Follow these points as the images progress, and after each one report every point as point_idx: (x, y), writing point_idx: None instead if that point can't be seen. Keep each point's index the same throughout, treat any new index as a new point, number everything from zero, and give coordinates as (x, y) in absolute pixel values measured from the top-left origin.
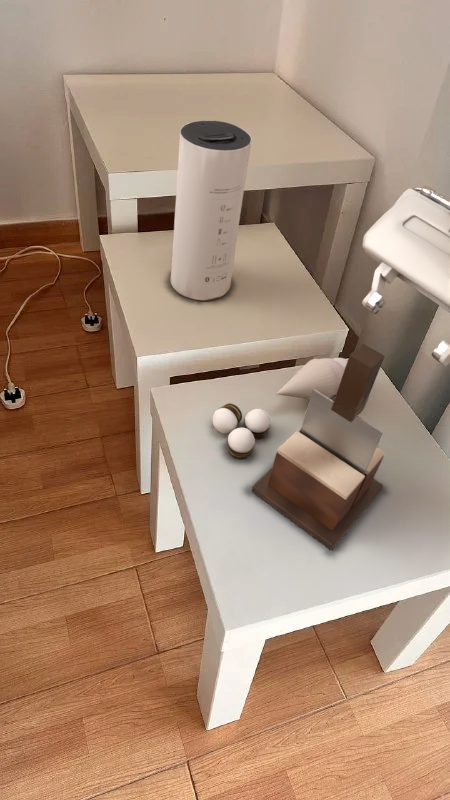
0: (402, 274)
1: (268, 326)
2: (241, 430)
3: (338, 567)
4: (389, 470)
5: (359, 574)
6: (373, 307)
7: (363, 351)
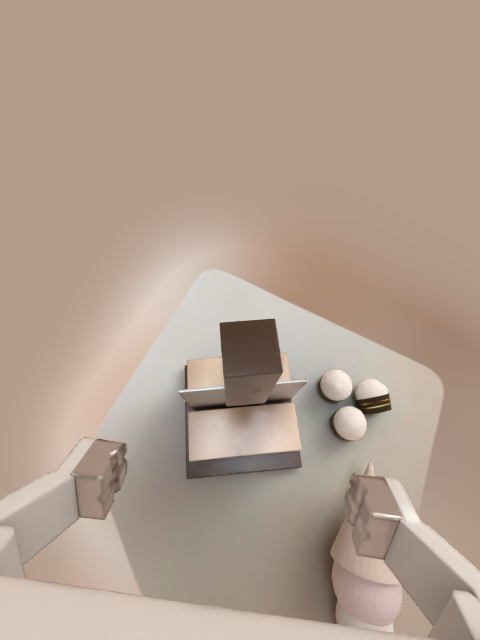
0: (410, 636)
1: None
2: (344, 382)
3: (171, 359)
4: (196, 517)
5: (152, 368)
6: (356, 478)
7: (264, 350)
